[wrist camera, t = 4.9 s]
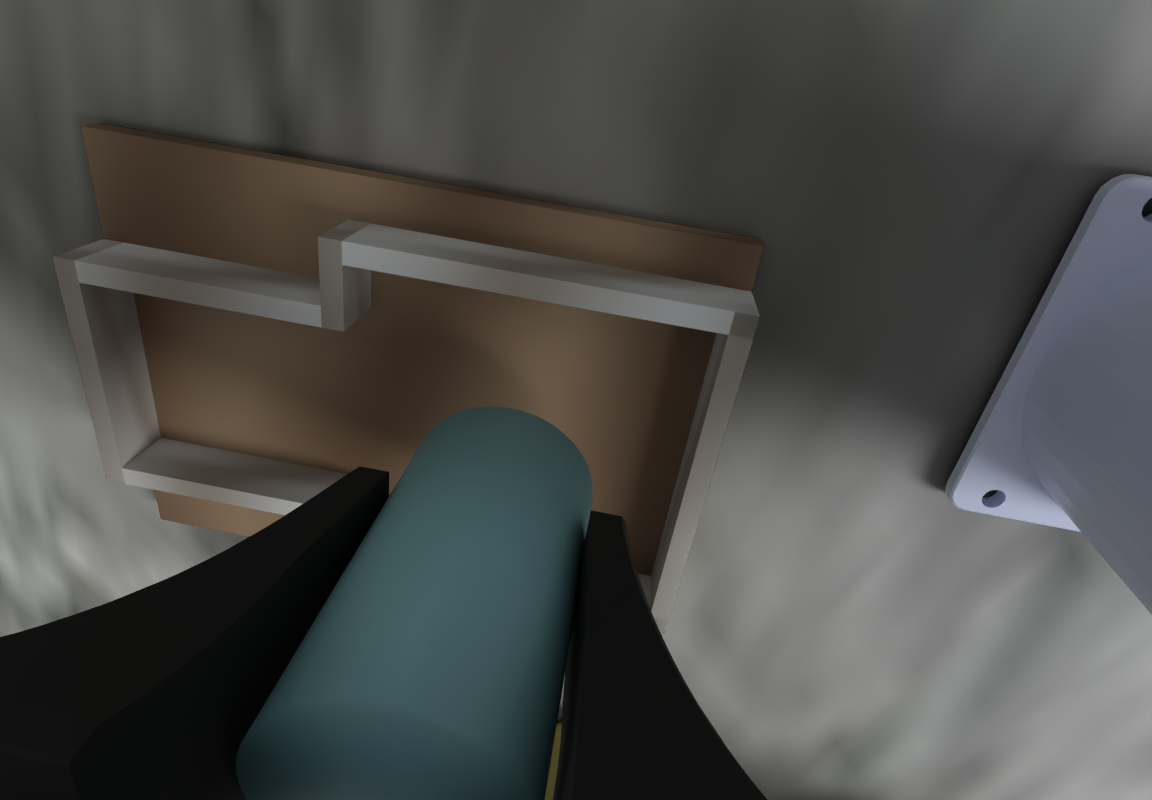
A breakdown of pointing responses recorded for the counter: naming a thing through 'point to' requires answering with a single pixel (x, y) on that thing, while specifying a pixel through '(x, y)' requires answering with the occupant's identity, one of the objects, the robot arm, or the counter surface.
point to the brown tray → (392, 334)
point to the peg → (439, 630)
